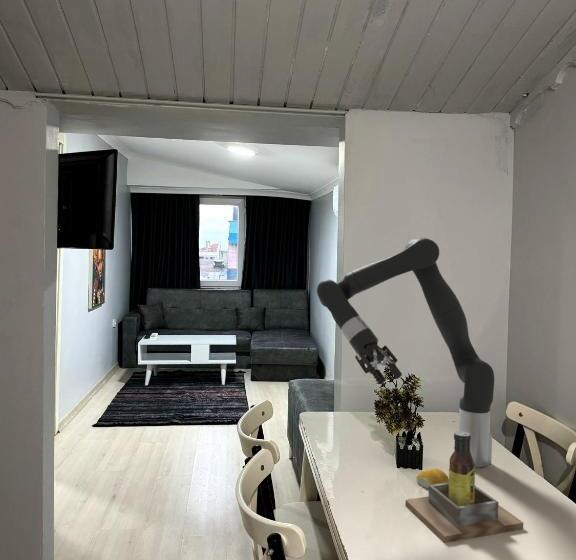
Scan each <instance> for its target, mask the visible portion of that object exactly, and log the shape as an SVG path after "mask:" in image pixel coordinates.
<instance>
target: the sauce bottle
mask: <svg viewBox="0 0 576 560" xmlns="http://www.w3.org/2000/svg"><path fill="white" fill-rule="evenodd" d="M453 440H454V447H453V449H454V451H453V452H452V454H451V455H450V457H449V468H448V479H449V499H450V500H451V501H452V502H453V503H455V504H456V505H457V506H458V507H459V506H466V505H472V504H474V495H475V486H476V485H475V484H476V478H475V477H476V467H475V464H474V461H473V458H472V455H471V452H470V440H471V434H470V433H468V432H464V431H459V430H458V431H454V432H453Z"/></svg>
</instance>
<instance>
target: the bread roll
mask: <svg viewBox="0 0 576 560" xmlns="http://www.w3.org/2000/svg"><path fill="white" fill-rule="evenodd" d="M415 478H416V479H415V480H416V483H417V484H418V485H420V486H421V487H423V488H425V489H427V490H429V485H435V484H442V483H449V475H447V473H446V472H445V471H443V470H441V469H439V468H429V469H425V470H421V471H419V472H418V473H417V474H416V477H415Z"/></svg>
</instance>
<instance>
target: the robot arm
mask: <svg viewBox="0 0 576 560" xmlns="http://www.w3.org/2000/svg"><path fill="white" fill-rule="evenodd" d="M439 257H440V248H439V246H438V243H436V242H435V241H434V240H432V239H429V238H427V237H419V238H418V237H417V238H413V239H411V240H409V241H408V242H407V243H406V246H405V248H404V249H403V250H402V251H400V252H398V253H396V254H395V255H392V256H390V257H387V258H384V259H381V260H379V261H375V262H371V263H369V264H367V265H364V266H362V267H359V268H357V269H355V270H353V271H350V272H348V273H346V274H345V275H344V276H343V279H342V280H341V281H339V282H336V281H334V280H332V279H323V280H321V281H320V282H319V284H318V285H317V288H316V295H317V297H318V300H319V302H320V304H321V305H322V306H323V307H326V308H327V310H328V311H329V312H330V313H331V317H332V318H333V320H334V322H335V323H336V325H337V326H338V328H339V329H340V330H341V332H342V334H343V336H344V337H345V339H346V340H347V342H348V344H350V346H351V348H352V349H353V350H354V352H355V353H356V355H355V356H354V358H355V360H356V361H357V363H358V364H359V366H360V368H361V369H362V370H363V372H364V373H365V374H368V373H369V374H370V375H372V376H373V377H374V379H375V380H376V381H377V382H378V384H379V385H382V384H384V383H386V381H387V379H386V377H385V376H384V374H383V373H382V372H381V370H380V369H379V368H378V365H381V366H385V367H386V368H387V369H389V371H390V373H391V374H392V375H393V376H394V378H395V379H396V380H399V379H400V378H401V377H403V374H402V371H400V369H399V367H397V365H396V363H397V362H398V359H397V358H396V356H395V355H394V354H393V352H392V351H391V350H390V349H389V347H388V346H387V345H383V346H382V347H380V345H378V342H379V339H378V337H377V336H376V335H375V333H374V332H373V330H372V329H371V328H370V327H369V325H368V324H367V323H366V321H365V320H364V319H363V318H362V317H361V315H359V313H358V312H357V311H356V309H355V308H354V307H353V306H352V304H351V303H350V302H349V300H350V299H351V298H352V297H354V296H355V295H358V294H360V293H362V292H365V291H367V290H368V289H372V288H373V287H375V286H378V285H380V284H382V283H384V282H386V281H388V280H391V279H393V278H395V277H397V276H400V275H404V274H406V273H409V272H412V273H413V274H414V275H415V277H416V279H417V281H418V283H419V285H420V287H421V290H422V292H423V295H424V298H425V301H426V303H427V306H428V308H429V311H430V313H431V316H432V318H433V320H434V322H435V324H436V326H437V329H438V331H439V332H440V335H441V336H442V338H443V341H444V343H445V344H446V346H447V348H448V350H449V354H450V355H451V358H452V361H453V364H454V367H455V371H456V374H457V376H458V378H459V380H460V381H461V382H462V383H463V384H464V386H463V387H464V389H463V397H461V398H460V399H459V409H458V410H459V414H458V416H459V417H458V418H459V419H458V431H464V432H468V433H470V434H471V440H470V452H471V455H472V458H473V461H474V464H475V468H486V467H487V466H489V465H490V464H492V457H493V456H492V454H493V453H492V452H493V450H492V449H493V448H492V447H493V434H492V433H491V432H490V431H491V430H490V427H491V406H492V403H493V401H494V393H495V391H494V390H495V372H494V369H493V367H492V366H491V365H490V364H489V363H487V362H486V361H484V360H483V359H481V358H480V357H479V355H478V353H477V352H476V350H475V348H474V347H473V344H472V342H471V339H470V336H469V335H470V334H469V327H468V322H467V321H468V320H467V318H466V314H465V312H464V310H463V307H462V305H461V303H460V300H459V299H458V297H457V295H456V294H455V293H454V291H453V289H452V288H451V287H450V285H449V284H448V283H447V282H446V280H445V279H444V277H443V276H442V274H441V272H440V270H439V269H440V268H439V267H438V264H437V261H438V260H439Z"/></svg>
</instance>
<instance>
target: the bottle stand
mask: <svg viewBox="0 0 576 560" xmlns="http://www.w3.org/2000/svg"><path fill="white" fill-rule="evenodd" d="M405 506H406V507H407V508H408V509H409V511H411V512H412V513H413V514H414V515H415V516H416V517H417V518H418V519H419V520H420V521H421V522H422V523H424V524H423V525H425V526H426V527H427V528H428V529H430V530H431V532H433V534H435V535H436V536H437V537H438V538H439V539H440V540H441V541H442V542H443V543H449V542H450V543H451V542H454V541H455V542H456V541H461V540H467V539H472V538H478V537H482V536H490V535H495V534H500V533H506V532H510V531H518V530H523V529H524V521H522V520H521V519H519V518H518V517H516V516H515V515H513V514H511V512H509V511H508V510H507V509H505V508H503V506H501V505H500V504H499V501H498V500H496V499H494V498H493V497H492V496H491V495H489V494H488V493H486V492H485V491H483V490H482V489H481V488H479V487H477V486H476V485H475V495H474V504H472V505H466V506H459V507H458V506H457V505H456V504H455V503H453V502H452V501H451V500H450V499H449V483H442V484H435V485H429V489H428V496H422V497H416V498H408V499H405Z"/></svg>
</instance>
